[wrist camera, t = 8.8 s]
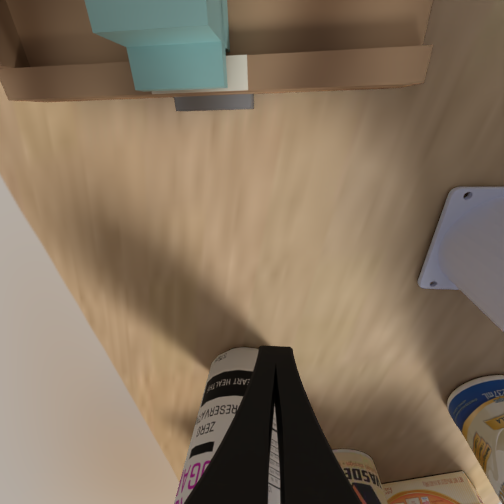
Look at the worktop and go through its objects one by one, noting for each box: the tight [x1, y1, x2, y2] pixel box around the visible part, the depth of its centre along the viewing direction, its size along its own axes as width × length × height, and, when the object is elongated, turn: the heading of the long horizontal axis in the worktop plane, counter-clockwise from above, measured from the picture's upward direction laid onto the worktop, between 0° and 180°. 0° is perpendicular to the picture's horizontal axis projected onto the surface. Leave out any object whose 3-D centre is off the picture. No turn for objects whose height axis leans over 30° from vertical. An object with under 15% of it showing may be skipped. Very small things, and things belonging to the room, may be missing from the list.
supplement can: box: [174, 347, 280, 504], centre depth 21 cm, size 8×8×15 cm
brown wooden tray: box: [0, 0, 433, 111], centre depth 12 cm, size 20×8×5 cm, turn 92°
